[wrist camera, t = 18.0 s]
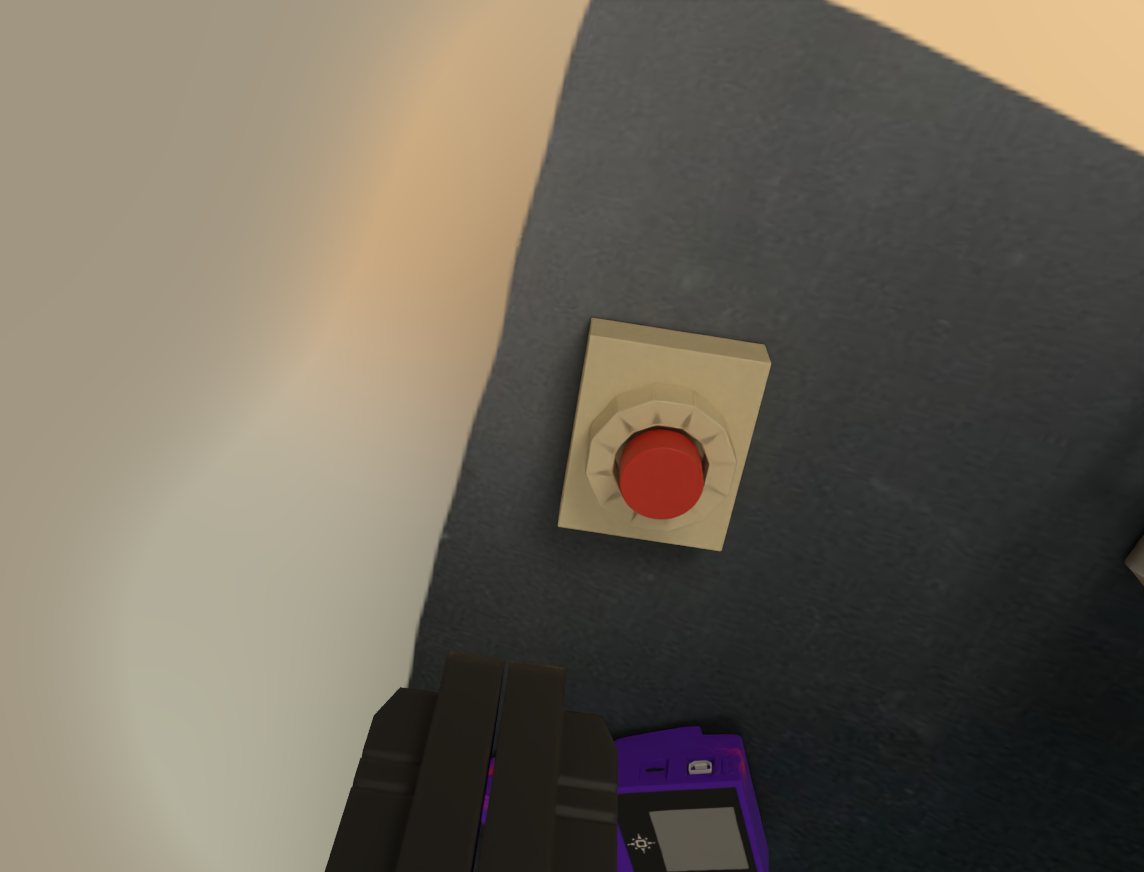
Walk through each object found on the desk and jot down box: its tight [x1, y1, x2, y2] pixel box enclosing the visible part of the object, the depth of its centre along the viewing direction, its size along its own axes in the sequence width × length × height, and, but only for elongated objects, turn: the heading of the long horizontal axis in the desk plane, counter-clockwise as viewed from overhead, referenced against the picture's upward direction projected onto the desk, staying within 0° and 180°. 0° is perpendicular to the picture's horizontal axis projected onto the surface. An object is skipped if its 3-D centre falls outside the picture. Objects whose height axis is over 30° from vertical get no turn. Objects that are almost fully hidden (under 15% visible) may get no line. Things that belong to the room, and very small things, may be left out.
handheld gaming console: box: [481, 726, 769, 872], centre depth 56 cm, size 9×5×15 cm
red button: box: [620, 429, 704, 519], centre depth 42 cm, size 4×4×2 cm
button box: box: [558, 318, 771, 551], centre depth 45 cm, size 10×8×4 cm
